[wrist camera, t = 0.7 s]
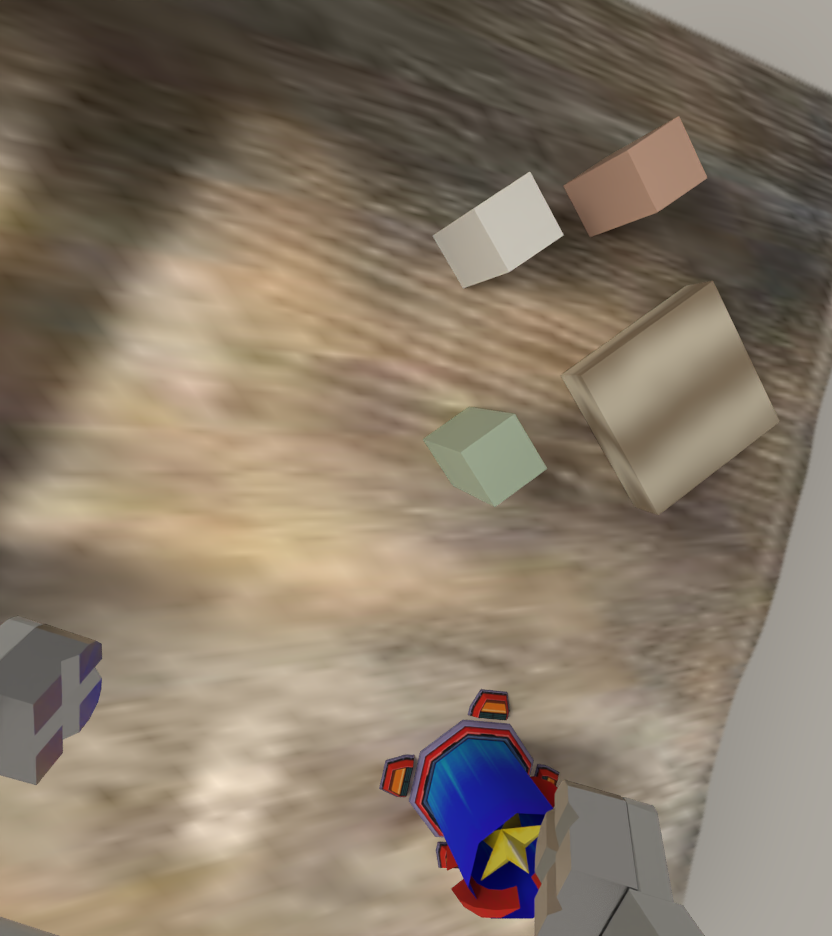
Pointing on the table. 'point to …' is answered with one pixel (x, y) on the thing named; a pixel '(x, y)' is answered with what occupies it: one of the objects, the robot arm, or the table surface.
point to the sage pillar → (485, 454)
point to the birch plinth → (672, 397)
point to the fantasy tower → (481, 807)
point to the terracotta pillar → (637, 179)
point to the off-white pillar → (499, 233)
